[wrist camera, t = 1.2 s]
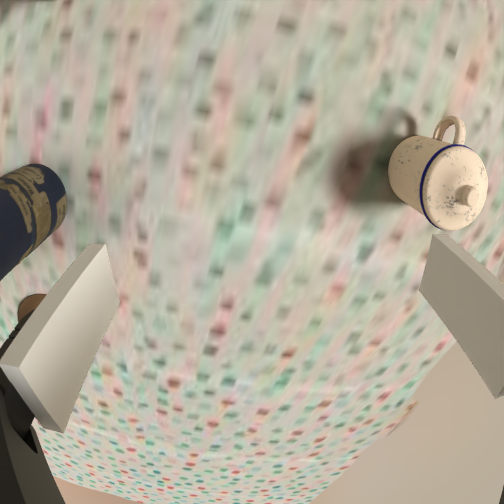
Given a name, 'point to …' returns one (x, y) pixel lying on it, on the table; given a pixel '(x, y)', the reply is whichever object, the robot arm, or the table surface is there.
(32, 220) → the canister
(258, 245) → the table surface
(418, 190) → the teacup with lid
